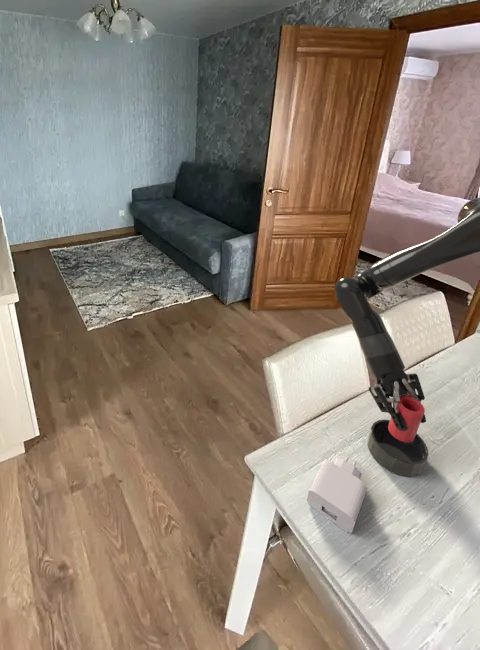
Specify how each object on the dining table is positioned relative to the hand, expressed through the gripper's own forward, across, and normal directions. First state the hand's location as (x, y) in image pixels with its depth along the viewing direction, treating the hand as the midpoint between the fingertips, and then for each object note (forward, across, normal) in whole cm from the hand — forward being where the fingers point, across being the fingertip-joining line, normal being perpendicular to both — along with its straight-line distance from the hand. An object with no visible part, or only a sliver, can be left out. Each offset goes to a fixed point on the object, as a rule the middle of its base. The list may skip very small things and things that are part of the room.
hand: (412, 425), depth 80 cm
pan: (+7, 0, +9) cm, 11 cm away
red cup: (+2, 0, +4) cm, 5 cm away
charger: (+8, -20, +8) cm, 23 cm away
